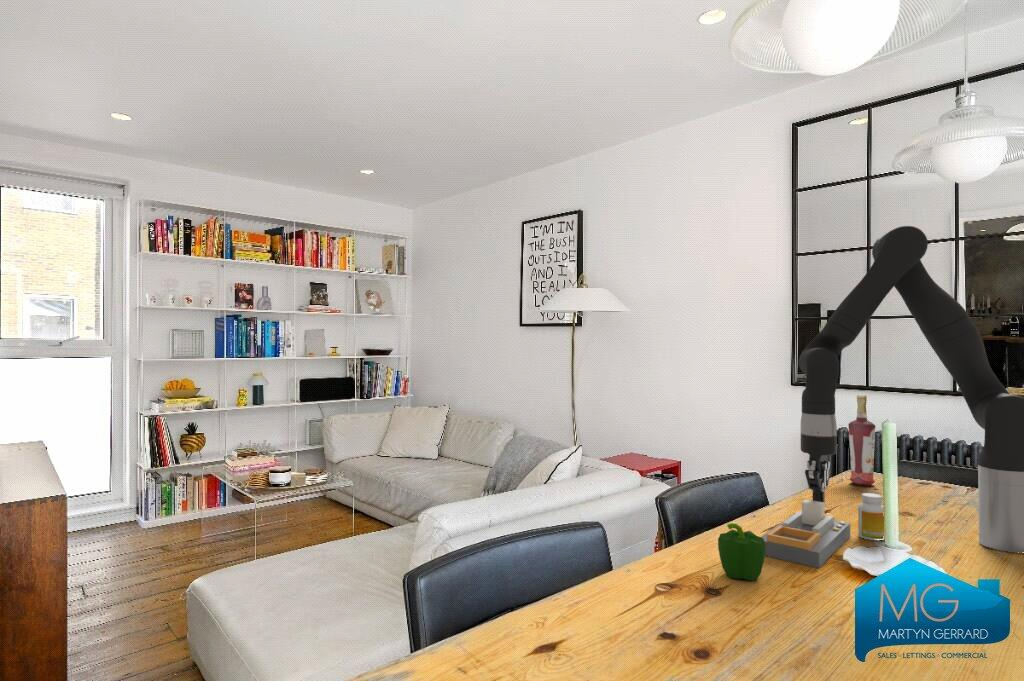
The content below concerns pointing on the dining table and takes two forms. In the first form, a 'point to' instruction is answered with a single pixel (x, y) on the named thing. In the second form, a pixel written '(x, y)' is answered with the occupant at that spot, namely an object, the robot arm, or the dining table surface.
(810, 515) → the handle
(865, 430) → the liquor
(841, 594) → the dining table surface
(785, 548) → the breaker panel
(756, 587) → the dining table surface
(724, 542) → the bell pepper
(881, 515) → the supplement bottle
